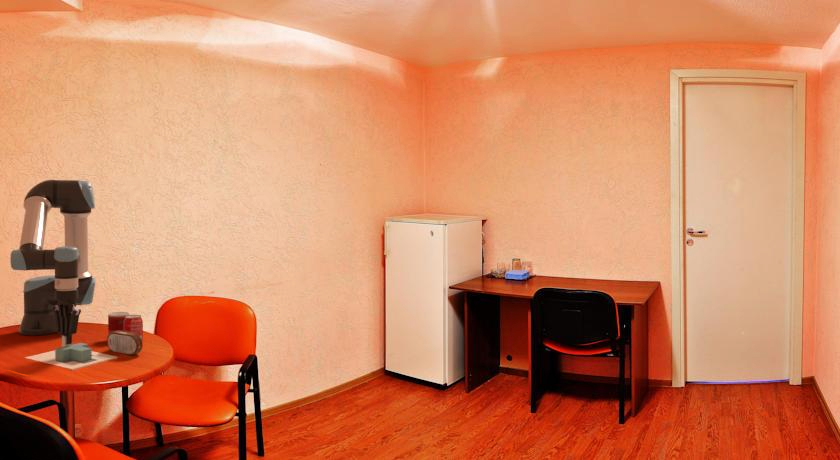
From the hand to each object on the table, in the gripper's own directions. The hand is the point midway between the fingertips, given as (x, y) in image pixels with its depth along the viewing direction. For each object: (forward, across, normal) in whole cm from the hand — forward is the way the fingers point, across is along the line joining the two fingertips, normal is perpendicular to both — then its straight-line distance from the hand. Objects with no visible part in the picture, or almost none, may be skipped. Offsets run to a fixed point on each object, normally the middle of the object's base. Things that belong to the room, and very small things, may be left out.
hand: (66, 352), depth 230 cm
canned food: (+2, -6, +27) cm, 27 cm away
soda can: (+2, +6, +24) cm, 25 cm away
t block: (+2, +6, 0) cm, 6 cm away
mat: (+2, +2, 0) cm, 3 cm away
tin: (+2, +12, +15) cm, 19 cm away
